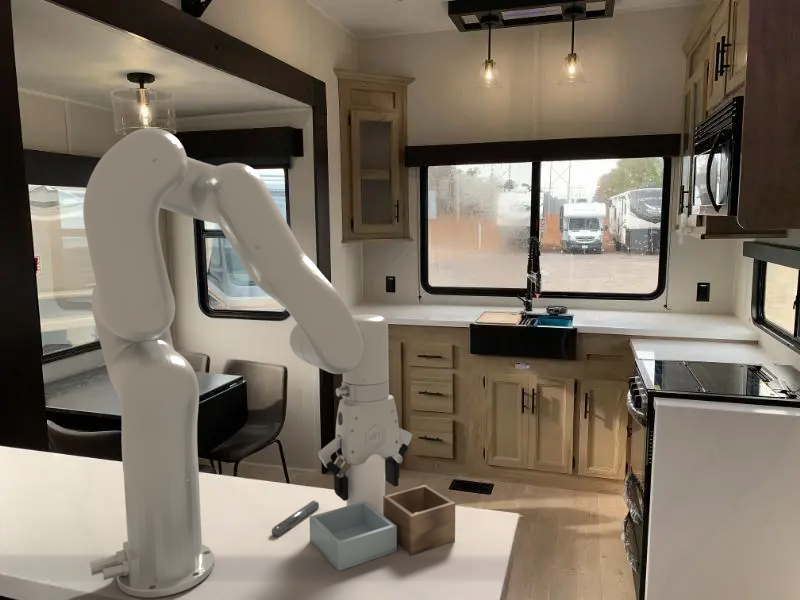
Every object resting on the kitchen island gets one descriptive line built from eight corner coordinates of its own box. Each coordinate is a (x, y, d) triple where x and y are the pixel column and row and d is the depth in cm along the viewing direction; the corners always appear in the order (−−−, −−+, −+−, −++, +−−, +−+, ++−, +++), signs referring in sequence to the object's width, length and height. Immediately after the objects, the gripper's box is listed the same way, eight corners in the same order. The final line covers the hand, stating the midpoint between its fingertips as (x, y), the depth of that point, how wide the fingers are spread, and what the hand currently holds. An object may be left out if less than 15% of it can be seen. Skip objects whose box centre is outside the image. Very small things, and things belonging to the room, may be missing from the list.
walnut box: (411, 555, 88) (411, 516, 88) (383, 532, 95) (383, 496, 94) (455, 540, 93) (455, 503, 92) (425, 519, 99) (425, 484, 99)
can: (368, 527, 97) (367, 455, 95) (338, 515, 101) (337, 446, 99) (393, 512, 102) (392, 443, 101) (363, 501, 106) (363, 435, 104)
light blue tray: (338, 571, 84) (338, 544, 84) (310, 541, 93) (309, 516, 92) (396, 551, 90) (396, 525, 89) (364, 524, 98) (364, 501, 97)
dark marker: (277, 539, 94) (277, 529, 93) (269, 537, 94) (269, 527, 94) (320, 509, 104) (320, 500, 104) (313, 507, 104) (313, 498, 104)
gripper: (328, 404, 91) (330, 512, 93) (422, 387, 101) (423, 486, 103) (307, 393, 98) (310, 495, 100) (398, 378, 107) (399, 471, 109)
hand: (367, 490), depth 101 cm, fingers open, 9 cm apart
